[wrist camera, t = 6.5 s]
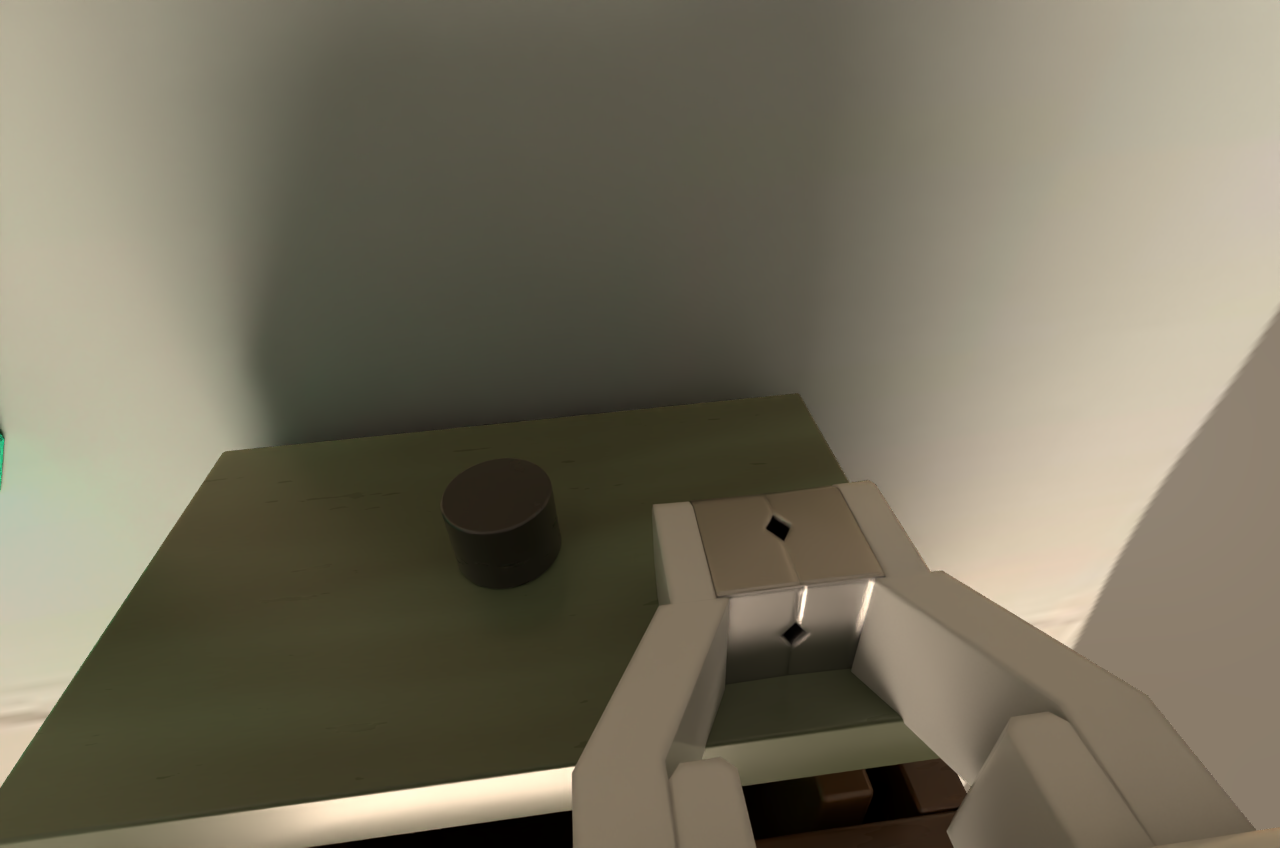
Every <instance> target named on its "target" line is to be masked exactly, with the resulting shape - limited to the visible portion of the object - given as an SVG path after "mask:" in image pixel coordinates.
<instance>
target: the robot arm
mask: <svg viewBox="0 0 1280 848" xmlns="http://www.w3.org/2000/svg"><path fill="white" fill-rule="evenodd" d="M652 524H653V546H654V564H655V575H656V585H657V596H658V602H659V607H658V609H657V611H656V613H655V615H654V616H653V618H652V620H651V622H650V624H649V626H648V628H647V630H646V632H645V634H644V636H643V638H642V639H641V641H640V643H639V645H638V647H637V649H636V651H635V653H634V655H633V657H632V659H631V661H630V662H629V664H628V666H627V668H626V670H625V672H624V674H623V676H622V678H621V680H620V682H619V684H618V685H617V687H616V689H615V691H614V693H613V695H612V697H611V699H610V701H609V703H608V705H607V707H606V708H605V710H604V712H603V714H602V716H601V718H600V720H599V722H598V724H597V726H596V728H595V730H594V731H593V733H592V735H591V737H590V739H589V741H588V743H587V745H586V747H585V749H584V751H583V753H582V754H581V756H580V758H579V760H578V762H577V764H576V766H575V768H574V770H573V772H572V820H573V848H756V844H755V840H754V836H753V832H752V828H751V823H750V819H749V815H748V811H747V807H746V803H745V798H744V794H743V790H742V786H741V782H740V777H739V773H738V769H737V768H736V767H735V766H733V765H732V764H730V763H729V762H727V761H725V760H724V759H722V758H721V757H716V758H710V759H703V760H702V757H703V754H704V751H705V746H706V743H707V740H708V737H709V734H710V731H711V728H712V725H713V722H714V719H715V716H716V713H717V711H718V708H719V705H720V702H721V699H722V696H723V693H724V690H725V685H727V684H734V683H741V682H747V681H754V680H761V679H768V678H774V677H781V676H788V675H797V674H806V673H815V672H824V671H833V670H842V669H851V668H852V669H851V672H852V673H853V674H854V675H856V676H857V677H858V678H859V679H860V680H861V681H862V682H863V683H864V684H866V685H867V686H868V687H869V688H870V689H871V690H872V691H873V692H875V693H876V694H877V695H878V696H879V697H880V698H881V699H882V700H883V701H885V702H886V703H887V704H888V705H889V706H890V707H891V708H892V709H893V710H895V711H896V712H897V713H898V714H899V715H900V716H901V717H902V718H903V721H904V724H905V725H906V726H907V727H908V728H909V729H910V730H912V731H913V732H914V733H915V734H916V735H917V736H918V737H919V738H920V739H921V740H922V741H923V742H924V743H925V744H926V745H927V746H928V747H929V748H930V749H932V750H933V751H934V752H935V753H936V754H937V755H938V756H939V757H940V758H941V759H942V760H943V761H944V762H945V763H946V764H947V765H948V766H949V767H950V768H952V769H953V770H954V771H955V772H956V773H957V774H958V775H959V776H960V777H961V778H962V779H963V780H964V781H965V782H966V783H967V784H968V785H969V786H970V789H969V791H968V793H967V794H966V796H965V798H964V799H963V801H962V803H961V805H960V806H959V808H958V810H957V812H956V813H955V815H954V817H953V819H952V821H951V823H950V825H949V827H948V829H947V834H948V836H949V838H950V840H951V843H952V845H953V847H954V848H1280V827H1277V828H1270V829H1264V830H1256V829H1255V828H1254V827H1253V825H1252V824H1251V823H1250V822H1249V820H1248V819H1247V818H1246V817H1245V816H1244V814H1243V813H1242V812H1241V811H1240V809H1239V808H1238V807H1237V806H1236V805H1235V803H1234V802H1233V801H1232V800H1231V798H1230V797H1229V796H1228V794H1227V793H1226V792H1225V791H1224V789H1223V788H1222V787H1221V786H1220V785H1219V783H1218V782H1217V781H1216V780H1215V778H1214V777H1213V776H1212V775H1211V773H1210V772H1209V771H1208V770H1207V768H1206V767H1205V766H1204V765H1203V764H1202V762H1201V761H1200V760H1199V759H1198V757H1197V756H1196V755H1195V754H1194V752H1192V750H1191V749H1190V747H1189V746H1188V745H1187V744H1186V742H1185V741H1184V740H1183V739H1182V737H1181V736H1180V735H1179V734H1178V733H1177V731H1176V730H1175V729H1174V728H1173V726H1172V725H1171V724H1170V723H1169V721H1168V720H1167V719H1166V718H1165V716H1164V715H1163V714H1162V713H1161V712H1160V710H1159V709H1158V708H1157V707H1156V705H1155V704H1154V703H1153V702H1152V700H1151V699H1150V698H1149V697H1148V695H1146V694H1144V693H1143V692H1141V691H1140V690H1138V689H1136V688H1134V687H1133V686H1131V685H1130V684H1128V683H1126V682H1125V681H1123V680H1121V679H1120V678H1118V677H1117V676H1115V675H1113V674H1111V673H1110V672H1108V671H1107V670H1105V669H1103V668H1102V667H1100V666H1098V665H1097V664H1095V663H1093V662H1092V661H1090V660H1088V659H1087V658H1085V657H1084V656H1082V655H1080V654H1079V653H1077V652H1075V651H1074V650H1072V649H1070V648H1069V647H1067V646H1065V645H1064V644H1062V643H1061V642H1059V641H1057V640H1056V639H1054V638H1052V637H1051V636H1049V635H1047V634H1046V633H1044V632H1042V631H1041V630H1039V629H1037V628H1036V627H1034V626H1033V625H1031V624H1029V623H1028V622H1026V621H1024V620H1023V619H1021V618H1019V617H1018V616H1016V615H1014V614H1013V613H1011V612H1010V611H1008V610H1006V609H1005V608H1003V607H1001V606H1000V605H998V604H996V603H995V602H993V601H991V600H990V599H988V598H986V597H985V596H983V595H982V594H980V593H978V592H977V591H975V590H973V589H972V588H970V587H968V586H967V585H965V584H963V583H962V582H960V581H958V580H957V579H955V578H954V577H952V576H950V575H949V574H947V573H945V572H944V571H933V572H931V571H930V570H929V568H928V567H927V565H926V563H925V562H924V560H923V559H922V557H921V555H920V554H919V552H918V551H917V549H916V548H915V546H914V544H913V543H912V541H911V540H910V538H909V536H908V535H907V533H906V532H905V530H904V528H903V527H902V525H901V524H900V522H899V521H898V519H897V517H896V516H895V514H894V513H893V511H892V509H891V508H890V506H889V505H888V503H887V501H886V500H885V498H884V497H883V495H882V493H881V492H880V490H879V489H878V487H877V486H876V484H874V483H873V482H871V481H870V480H866V481H858V482H850V483H842V484H834V485H832V486H830V485H827V486H819V487H811V488H803V489H795V490H787V491H779V492H771V493H763V494H757V495H746V496H735V497H724V498H712V499H701V500H691V501H690V502H677V503H665V504H653V507H652Z"/></svg>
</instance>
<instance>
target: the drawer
mask: <svg viewBox="0 0 1280 848" xmlns="http://www.w3.org/2000/svg"><path fill="white" fill-rule="evenodd" d="M842 483H849V481H848V479H847V477H846V476H845V474H844V472H843V470H842V469H841V467H840V465H839V463H838V461H837V460H836V458H835V456H834V454H833V453H832V451H831V449H830V447H829V446H828V444H827V442H826V440H825V438H824V437H823V435H822V433H821V431H820V430H819V428H818V426H817V424H816V423H815V421H814V419H813V417H812V415H811V414H810V412H809V410H808V408H807V407H806V405H805V403H804V401H803V400H802V398H801V396H800V394H798V393H794V394H785V395H775V396H765V397H755V398H745V399H736V400H726V401H716V402H706V403H696V404H686V405H677V406H667V407H657V408H647V409H637V410H627V411H618V412H608V413H598V414H588V415H578V416H569V417H559V418H549V419H539V420H529V421H519V422H510V423H500V424H490V425H480V426H470V427H461V428H451V429H441V430H431V431H421V432H411V433H402V434H392V435H382V436H372V437H362V438H352V439H343V440H333V441H323V442H313V443H303V444H294V445H284V446H274V447H264V448H254V449H244V450H235V451H226V452H224V453H222V455H221V456H220V458H219V459H218V461H217V462H216V464H215V465H214V467H213V468H212V470H211V471H210V473H209V474H208V476H207V477H206V479H205V480H204V482H203V483H202V485H201V486H200V488H199V489H198V491H197V492H196V494H195V495H194V497H193V498H192V500H191V502H190V503H189V505H188V506H187V508H186V509H185V511H184V512H183V514H182V515H181V517H180V518H179V520H178V521H177V523H176V524H175V526H174V527H173V529H172V530H171V532H170V533H169V535H168V536H167V538H166V539H165V541H164V542H163V544H162V545H161V547H160V548H159V550H158V551H157V553H156V554H155V556H154V557H153V559H152V560H151V562H150V563H149V565H148V566H147V568H146V569H145V571H144V572H143V574H142V575H141V577H140V578H139V580H138V581H137V583H136V584H135V586H134V587H133V589H132V590H131V592H130V593H129V595H128V596H127V598H126V599H125V601H124V602H123V604H122V605H121V607H120V608H119V610H118V611H117V613H116V614H115V616H114V617H113V619H112V620H111V622H110V623H109V625H108V626H107V628H106V629H105V631H104V632H103V634H102V636H101V637H100V639H99V640H98V642H97V643H96V645H95V646H94V648H93V649H92V651H91V652H90V654H89V655H88V657H87V658H86V660H85V661H84V663H83V664H82V666H81V667H80V669H79V670H78V672H77V673H76V675H75V676H74V678H73V679H72V681H71V682H70V684H69V685H68V687H67V688H66V690H65V691H64V693H63V694H62V696H61V697H60V699H59V700H58V702H57V703H56V705H55V706H54V708H53V709H52V711H51V712H50V714H49V715H48V717H47V718H46V720H45V721H44V723H43V724H42V726H41V727H40V729H39V730H38V732H37V733H36V735H35V736H34V738H33V739H32V741H31V742H30V744H29V745H28V747H27V748H26V750H25V751H24V753H23V754H22V756H21V757H20V759H19V760H18V762H17V763H16V765H15V767H14V768H13V770H12V771H11V773H10V774H9V776H8V777H7V779H6V780H5V782H4V783H3V785H2V786H1V788H0V848H573V820H572V772H573V770H574V768H575V766H576V764H577V762H578V760H579V758H580V756H581V754H582V753H583V751H584V749H585V747H586V745H587V743H588V741H589V739H590V737H591V735H592V733H593V731H594V730H595V728H596V726H597V724H598V722H599V720H600V718H601V716H602V714H603V712H604V710H605V708H606V707H607V705H608V703H609V701H610V699H611V697H612V695H613V693H614V691H615V689H616V687H617V685H618V684H619V682H620V680H621V678H622V676H623V674H624V672H625V670H626V668H627V666H628V664H629V662H630V661H631V659H632V657H633V655H634V653H635V651H636V649H637V647H638V645H639V643H640V641H641V639H642V638H643V636H644V634H645V632H646V630H647V628H648V626H649V624H650V622H651V620H652V618H653V616H654V615H655V613H656V611H657V609H658V607H659V602H658V596H657V585H656V575H655V564H654V546H653V524H652V507H653V504H665V503H677V502H690V501H691V500H701V499H712V498H724V497H735V496H746V495H757V494H763V493H771V492H779V491H787V490H795V489H803V488H811V487H819V486H827V485H830V486H832V485H834V484H842ZM851 669H852V668H851ZM851 669H842V670H833V671H824V672H815V673H806V674H797V675H788V676H781V677H774V678H768V679H761V680H754V681H747V682H741V683H734V684H727V685H725V690H724V693H723V696H722V699H721V702H720V705H719V708H718V711H717V713H716V716H715V719H714V722H713V725H712V728H711V731H710V734H709V737H708V740H707V743H706V746H705V751H704V754H703V757H702V760H703V759H710V758H716V757H721V758H722V759H724V760H725V761H727V762H729V763H730V764H732V765H733V766H735V767H736V768H737V769H738V773H739V777H740V782H741V786H742V790H743V794H744V798H745V803H746V807H747V811H748V815H749V819H750V823H751V828H752V832H753V836H754V840H757V839H763V838H770V837H777V836H784V835H791V834H797V833H804V832H811V831H818V830H825V829H832V828H838V827H845V826H852V825H859V824H862V822H863V820H864V817H865V815H866V812H867V810H868V807H869V805H870V802H871V800H872V797H873V788H872V785H871V783H870V780H869V778H868V775H867V772H866V770H865V769H867V768H874V767H881V766H889V765H896V764H903V763H910V762H917V761H924V760H931V759H938V758H940V757H939V756H938V755H937V754H936V753H935V752H934V751H933V750H932V749H930V748H929V747H928V746H927V745H926V744H925V743H924V742H923V741H922V740H921V739H920V738H919V737H918V736H917V735H916V734H915V733H914V732H913V731H912V730H910V729H909V728H908V727H907V726H906V725H905V724H904V721H903V718H902V717H901V716H900V715H899V714H898V713H897V712H896V711H895V710H893V709H892V708H891V707H890V706H889V705H888V704H887V703H886V702H885V701H883V700H882V699H881V698H880V697H879V696H878V695H877V694H876V693H875V692H873V691H872V690H871V689H870V688H869V687H868V686H867V685H866V684H864V683H863V682H862V681H861V680H860V679H859V678H858V677H857V676H856V675H854V674H853V673H852V672H851Z"/></svg>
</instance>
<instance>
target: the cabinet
mask: <svg viewBox="0 0 1280 848" xmlns="http://www.w3.org/2000/svg"><path fill="white" fill-rule="evenodd" d="M865 770H866V772H867V775H868V778H869V780H870V783H871V785H872V788H873V797H872V800H871V802H870V805H869V807H868V810H867V812H866V815H865V817H864V820H863V822H862V824H859V825H852V826H845V827H838V828H832V829H825V830H818V831H811V832H804V833H797V834H791V835H784V836H777V837H770V838H763V839H757V840H755V844H756V848H954V847H953V845H952V843H951V840H950V838H949V836H948V834H947V829H948V827H949V825H950V823H951V821H952V819H953V817H954V815H955V813H956V812H957V810H958V808H959V806H960V805H961V803H962V801H963V799H964V798H965V796H966V794H967V793H966V791H965V789H964V787H963V785H962V783H961V781H960V779H959V777H958V774H957V773H956V772H955V771H954V770H953V769H952V768H950V767H949V766H948V765H947V764H946V763H945V762H944V761H943V760H942V759H941V758H938V759H931V760H924V761H917V762H910V763H903V764H896V765H889V766H881V767H874V768H867V769H865Z"/></svg>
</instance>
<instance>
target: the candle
mask: <svg viewBox="0 0 1280 848" xmlns="http://www.w3.org/2000/svg"><path fill="white" fill-rule="evenodd" d="M3 448H4V438H3V436H2V435H1V434H0V488H1V475H2V462H3Z"/></svg>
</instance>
